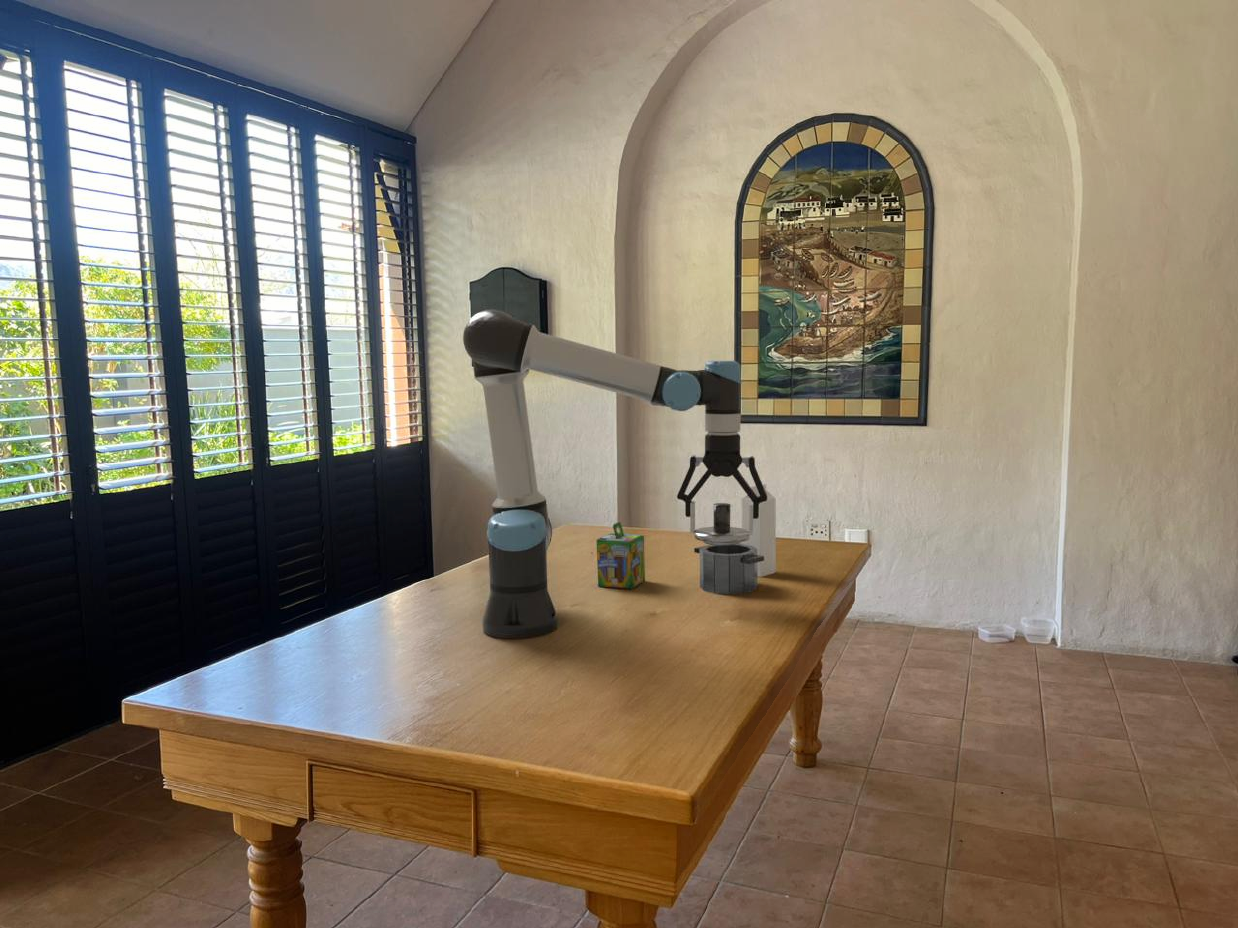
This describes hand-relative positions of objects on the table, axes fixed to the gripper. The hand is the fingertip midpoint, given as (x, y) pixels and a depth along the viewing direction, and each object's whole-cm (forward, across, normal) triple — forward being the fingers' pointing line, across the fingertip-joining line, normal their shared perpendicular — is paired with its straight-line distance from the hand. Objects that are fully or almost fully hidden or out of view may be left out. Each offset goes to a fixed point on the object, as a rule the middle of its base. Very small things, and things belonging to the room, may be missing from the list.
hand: (721, 532), depth 203 cm
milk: (+16, -7, -30) cm, 35 cm away
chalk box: (+17, +25, -16) cm, 34 cm away
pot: (+16, -1, -16) cm, 22 cm away
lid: (+2, 0, 0) cm, 2 cm away
